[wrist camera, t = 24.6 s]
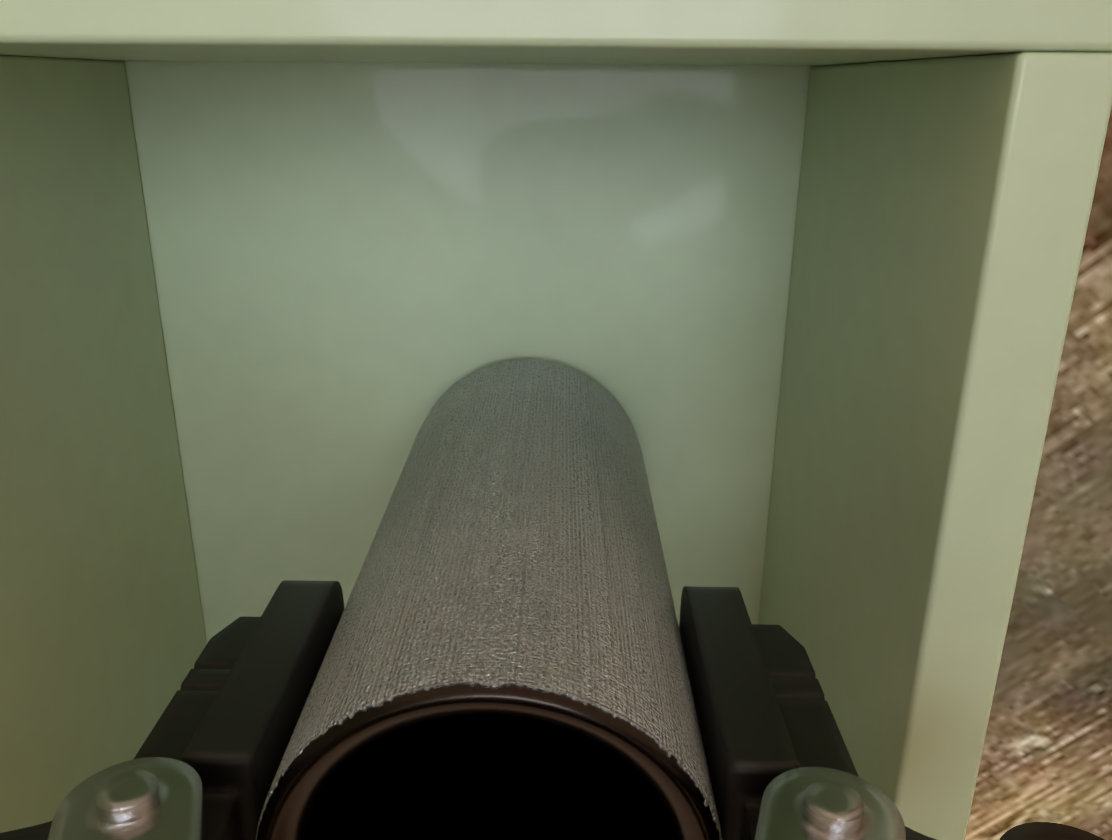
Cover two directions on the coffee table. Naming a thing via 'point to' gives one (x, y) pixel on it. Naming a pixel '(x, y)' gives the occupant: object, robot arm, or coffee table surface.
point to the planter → (506, 641)
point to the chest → (534, 319)
